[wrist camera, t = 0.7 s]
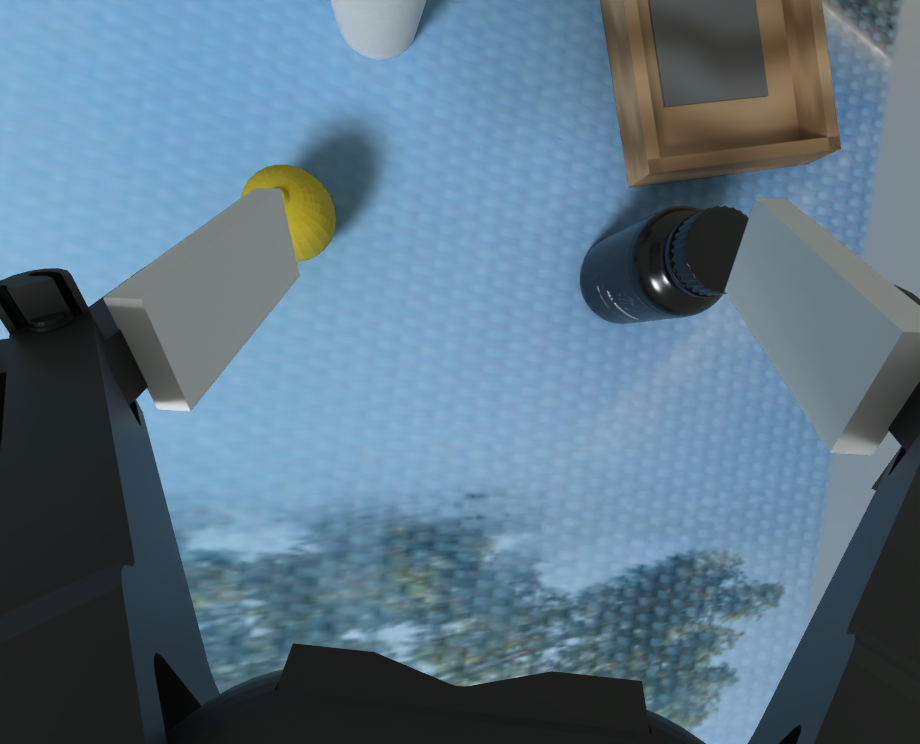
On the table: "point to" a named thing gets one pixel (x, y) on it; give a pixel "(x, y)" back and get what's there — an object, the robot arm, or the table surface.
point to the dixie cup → (378, 25)
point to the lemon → (300, 207)
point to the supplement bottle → (663, 265)
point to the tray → (719, 86)
